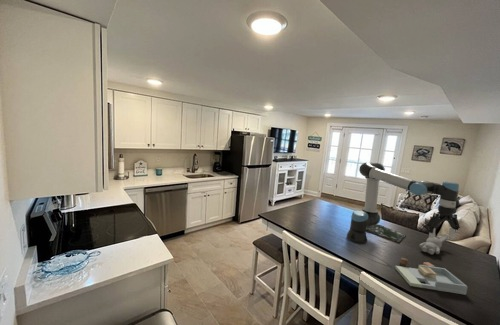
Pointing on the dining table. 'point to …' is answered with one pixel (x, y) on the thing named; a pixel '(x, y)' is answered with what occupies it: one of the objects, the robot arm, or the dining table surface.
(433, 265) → the terracotta block
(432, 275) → the maple block
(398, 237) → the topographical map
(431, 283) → the tray
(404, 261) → the walnut dowel
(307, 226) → the dining table surface
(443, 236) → the toy
